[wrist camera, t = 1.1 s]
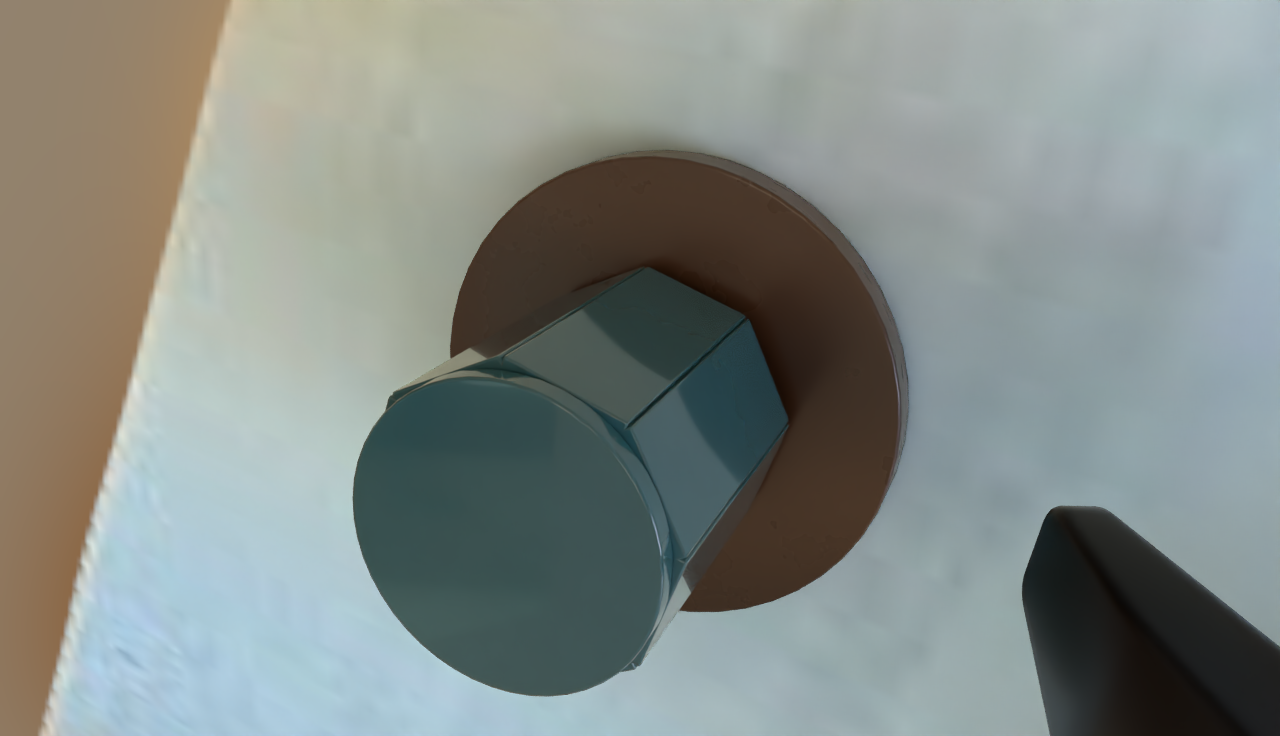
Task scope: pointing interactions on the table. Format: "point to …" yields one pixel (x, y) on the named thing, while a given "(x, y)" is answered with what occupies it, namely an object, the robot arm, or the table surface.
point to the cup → (567, 482)
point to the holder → (768, 296)
